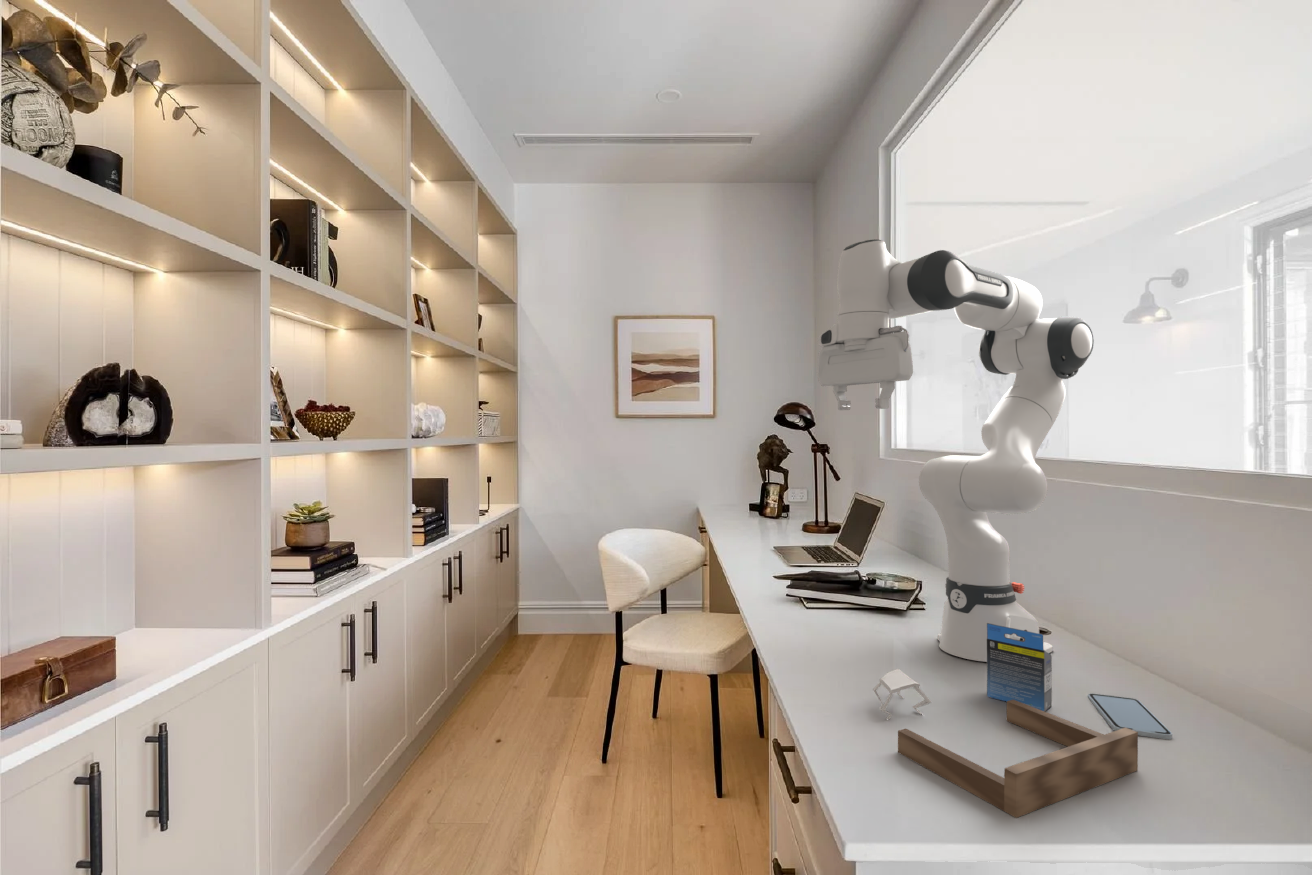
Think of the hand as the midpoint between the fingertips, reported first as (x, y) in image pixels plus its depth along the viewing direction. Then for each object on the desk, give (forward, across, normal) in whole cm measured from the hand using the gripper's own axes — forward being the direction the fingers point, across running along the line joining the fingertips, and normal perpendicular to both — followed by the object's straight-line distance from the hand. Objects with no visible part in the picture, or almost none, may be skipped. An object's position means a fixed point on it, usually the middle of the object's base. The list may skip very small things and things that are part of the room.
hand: (862, 409), depth 121 cm
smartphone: (+48, -31, -25) cm, 63 cm away
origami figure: (+48, -13, +4) cm, 50 cm away
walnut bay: (+48, -32, +4) cm, 58 cm away
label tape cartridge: (+48, -20, -15) cm, 54 cm away
